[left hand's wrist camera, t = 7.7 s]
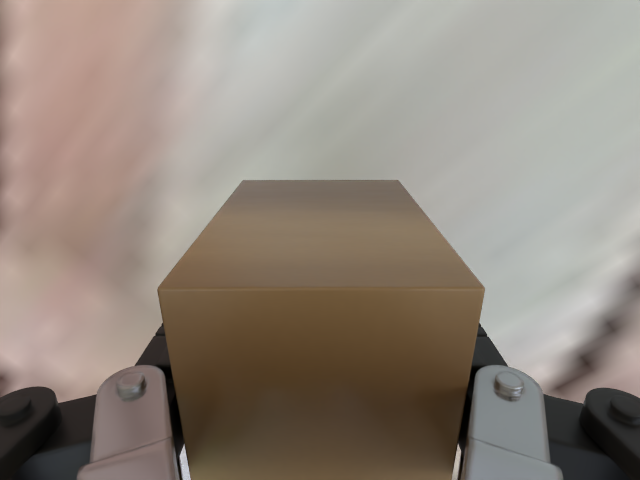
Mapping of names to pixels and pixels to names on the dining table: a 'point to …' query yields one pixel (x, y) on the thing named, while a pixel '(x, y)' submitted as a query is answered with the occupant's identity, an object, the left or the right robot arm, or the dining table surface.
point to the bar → (321, 336)
